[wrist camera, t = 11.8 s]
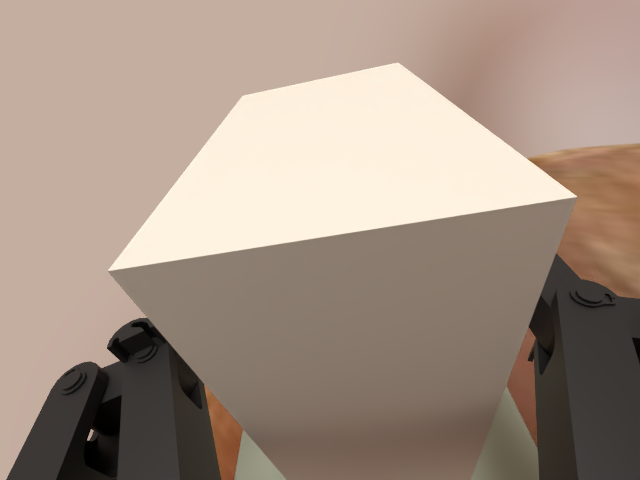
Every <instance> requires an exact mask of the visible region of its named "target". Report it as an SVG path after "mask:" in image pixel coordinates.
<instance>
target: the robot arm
mask: <svg viewBox="0 0 640 480" xmlns="http://www.w3.org/2000/svg"><path fill="white" fill-rule="evenodd" d="M528 327H529V328H530V329H531V331H532V332H533V334H534V335H535V337H536V340H535V342H534V345H533V347H532V350H531V352H530V354H529V358H528V361H531V362H532V361H533V359H534V369H535V393H536V417H537V441H538V465H539V480H640V299H635V298H626V297H619V296H617V295H616V294H614V293H613V292H612V291H611V290H609V289H608V288H606V287H604V286H602V285H600V284H598V283H596V282H592V281H588V280H582V279H580V278H579V277H578V276H577V275H576V274H575V273H574V271H573V270H572V269H571V268H570V267H569V266H568V265H567V264H566V263H565V262H564V261H563V260H562V259H561V258H560V257H559V256H558V255H557V254H556V255H555V257H554V260H553V263H552V265H551V268H550V271H549V273H548V276H547V279H546V281H545V284H544V287H543V289H542V292H541V295H540V297H539V300H538V303H537V305H536V308H535V310H534V313H533V316H532V318H531V321H530V324H529V326H528ZM525 335H526V334H525ZM107 349H108V350H109V351H111V352H112V353H113V354H114V355H115V356H116V357H117V358H118V359H119V360H120V361H119V362H116V363H114V364H111V365H109V366H107V367H104V368H100V367H99V366H98V365H97V364H96V363H93V362H84V363H81V364H79V365H76V366H74V367H73V368H71V369H70V370H68V371H67V372H66V373H64V374H63V375H62V376H61V377H60V379H58V380H57V382H56V383H55V385H54V386H53V388H52V389H51V391H50V393H49V395H48V397H47V399H46V401H45V403H44V405H43V407H42V409H41V411H40V414H39V415H38V417H37V419H36V421H35V423H34V425H33V427H32V429H31V431H30V433H29V435H28V437H27V439H26V441H25V443H24V445H23V447H22V449H21V451H20V453H19V455H18V457H17V459H16V461H15V464H14V466H13V468H12V469H11V471H10V473H9V475H8V477H7V479H6V480H221V476H220V471H219V465H218V460H217V454H216V449H215V443H214V438H213V432H212V427H211V421H210V416H209V411H208V405H207V400H206V394H205V389H204V383H203V382H202V381H201V379H200V378H199V377H198V376H197V375H196V374H195V372H194V371H193V370H192V369H191V368H190V367H189V365H188V364H187V363H186V362H185V361H184V360H183V358H182V357H181V356H180V355H179V354H178V353H177V351H176V350H175V349H174V348H173V347H172V346H171V344H170V343H169V342H168V341H167V340H166V339H165V337H164V336H163V335H162V334H161V333H160V332H159V330H158V329H157V328H156V327H155V326H154V325H153V323H152V322H151V321H150V320H149V319H148V318H139V319H136V320H133V321H131V322H129V323H127V324H126V325H124V326H122V327H121V328H120V329H119V330H118V331H117V332H116V333H115V334H114V335H113V337H112V338H111V339H110V341H109V344H108V346H107ZM91 429H92V430H94V432H93V435H92V437H91V439H90V440H89V441H87V438H88V436H89V432H90V430H91Z"/></svg>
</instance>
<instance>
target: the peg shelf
mask: <svg viewBox="0 0 640 480" xmlns="http://www.w3.org/2000/svg"><path fill="white" fill-rule="evenodd" d="M234 480H286V478H285V477H284V476H283V475H282V474H281V473H280V471H279V470H278V469H277V468H276V467H275V466H274V464H273V463H272V462H271V461H270V460H269V459H268V457H267V456H266V455H265V454H264V453H263V452H262V450H261V449H260V448H259V447H258V446H257V445H256V443H255V442H254V441H253V440H252V439H251V438H250V436H249V435H248V434H247V433H246V432H245V431H244V430H243V432H242V438H241V444H240V450H239V456H238V462H237V467H236V473H235V479H234ZM471 480H539V465H538V449H537V447H536V445H535V443H534V441H533V439H532V437H531V435H530V433H529V431H528V429H527V427H526V425H525V423H524V421H523V419H522V416H521V414H520V412H519V410H518V408H517V406H516V404H515V402H514V400H513V398H512V396H511V394H510V392H509V390H508V388H507V386H506V387H505V390H504V393H503V395H502V398H501V401H500V403H499V406H498V409H497V411H496V414H495V417H494V419H493V422H492V425H491V427H490V430H489V433H488V435H487V438H486V441H485V443H484V446H483V448H482V451H481V454H480V456H479V459H478V462H477V464H476V467H475V470H474V472H473V475H472V478H471Z"/></svg>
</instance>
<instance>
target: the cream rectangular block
mask: <svg viewBox="0 0 640 480" xmlns="http://www.w3.org/2000/svg"><path fill="white" fill-rule="evenodd" d="M576 199H577V196H575V195H574V194H573V193H571V192H570V191H569V190H567V189H566V188H565V187H563V186H562V185H561V184H559V183H558V182H557V181H555V180H554V179H553V178H551V177H550V176H549V175H547V174H546V173H545V172H543V171H542V170H541V169H539V168H538V167H537V166H535V165H534V164H533V163H531V162H530V161H529V160H527V159H526V158H525V157H523V156H522V155H521V154H519V153H518V152H517V151H515V150H514V149H513V148H511V147H510V146H509V145H507V144H506V143H505V142H503V141H502V140H501V139H499V138H498V137H497V136H495V135H494V134H493V133H491V132H490V131H489V130H487V129H486V128H485V127H483V126H482V125H481V124H479V123H478V122H477V121H475V120H474V119H473V118H471V117H470V116H469V115H467V114H466V113H465V112H463V111H462V110H461V109H459V108H458V107H457V106H455V105H454V104H453V103H451V102H450V101H449V100H447V99H446V98H445V97H443V96H442V95H440V94H439V93H438V92H437V91H435V90H434V89H433V88H431V87H430V86H429V85H427V84H426V83H425V82H423V81H422V80H421V79H419V78H418V77H417V76H415V75H414V74H413V73H411V72H410V71H409V70H407V69H406V68H405V67H403V66H402V65H401V64H399V63H393V64H389V65H384V66H379V67H375V68H370V69H365V70H361V71H356V72H351V73H347V74H342V75H337V76H333V77H328V78H324V79H319V80H314V81H309V82H305V83H300V84H296V85H291V86H286V87H281V88H277V89H272V90H267V91H263V92H258V93H254V94H249V95H245V96H242V97H241V99H240V100H239V101H238V103H237V104H236V105H235V106H234V108H233V109H232V110H231V112H230V113H229V114H228V116H227V117H226V118H225V119H224V121H223V122H222V123H221V125H220V126H219V127H218V129H217V130H216V131H215V132H214V134H213V135H212V136H211V138H210V139H209V140H208V142H207V143H206V144H205V145H204V147H203V148H202V149H201V151H200V152H199V153H198V154H197V156H196V157H195V158H194V160H193V161H192V162H191V164H190V165H189V166H188V168H187V169H186V170H185V171H184V173H183V174H182V175H181V177H180V178H179V179H178V180H177V182H176V183H175V184H174V186H173V187H172V188H171V189H170V191H169V192H168V193H167V195H166V196H165V198H164V199H163V200H162V201H161V203H160V204H159V205H158V207H157V208H156V209H155V210H154V212H153V213H152V214H151V215H150V217H149V218H148V219H147V221H146V222H145V223H144V224H143V226H142V227H141V228H140V230H139V231H138V233H137V234H136V235H135V236H134V237H133V239H132V240H131V241H130V243H129V244H128V245H127V247H126V248H125V249H124V250H123V252H122V253H121V254H120V256H119V257H118V258H117V260H116V261H115V262H114V263H113V265H112V266H111V267H110V269H109V270H108V272H109V273H110V275H111V276H112V277H113V278H114V279H115V280H116V282H117V283H118V284H119V285H120V286H121V287H122V289H123V290H124V291H125V292H126V293H127V294H128V295H129V297H130V298H131V299H132V300H133V301H134V303H135V304H136V305H137V306H138V307H139V308H140V309H141V311H142V312H143V313H144V314H145V315H146V316H147V318H148V319H149V320H150V321H151V322H152V323H153V325H154V326H155V327H156V328H157V329H158V330H159V332H160V333H161V334H162V335H163V336H164V337H165V339H166V340H167V341H168V342H169V343H170V344H171V346H172V347H173V348H174V349H175V350H176V351H177V353H178V354H179V355H180V356H181V357H182V358H183V360H184V361H185V362H186V363H187V364H188V365H189V367H190V368H191V369H192V370H193V371H194V372H195V374H196V375H197V376H198V377H199V378H200V379H201V381H202V382H203V383H204V384H205V385H206V386H207V388H208V389H209V390H210V391H211V392H212V393H213V395H214V396H215V397H216V398H217V399H218V400H219V402H220V403H221V404H222V405H223V406H224V407H225V409H226V410H227V411H228V412H229V413H230V414H231V416H232V417H233V418H234V419H235V420H236V421H237V423H238V424H239V425H240V426H241V427H242V428H243V430H244V431H245V432H246V433H247V434H248V435H249V436H250V438H251V439H252V440H253V441H254V442H255V443H256V445H257V446H258V447H259V448H260V449H261V450H262V452H263V453H264V454H265V455H266V456H267V457H268V459H269V460H270V461H271V462H272V463H273V464H274V466H275V467H276V468H277V469H278V470H279V471H280V473H281V474H282V475H283V476H284V477H285V478H286V480H471V478H472V475H473V472H474V470H475V467H476V464H477V462H478V459H479V456H480V454H481V451H482V448H483V446H484V443H485V441H486V438H487V435H488V433H489V430H490V427H491V425H492V422H493V419H494V417H495V414H496V411H497V409H498V406H499V403H500V401H501V398H502V395H503V393H504V390H505V387H506V385H507V382H508V379H509V377H510V374H511V372H512V369H513V366H514V364H515V361H516V358H517V356H518V353H519V350H520V348H521V345H522V342H523V340H524V337H525V334H526V332H527V329H528V326H529V324H530V321H531V318H532V316H533V313H534V310H535V308H536V305H537V303H538V300H539V297H540V295H541V292H542V289H543V287H544V284H545V281H546V279H547V276H548V273H549V271H550V268H551V265H552V263H553V260H554V257H555V255H556V252H557V249H558V247H559V244H560V241H561V239H562V236H563V233H564V231H565V228H566V226H567V223H568V220H569V218H570V215H571V212H572V210H573V207H574V204H575V202H576Z"/></svg>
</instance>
